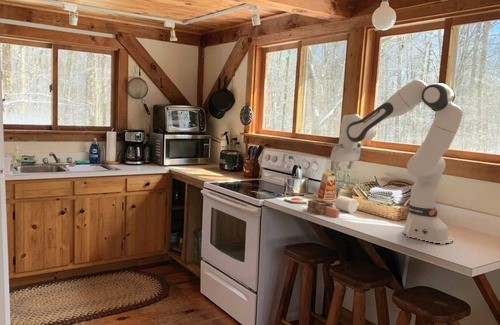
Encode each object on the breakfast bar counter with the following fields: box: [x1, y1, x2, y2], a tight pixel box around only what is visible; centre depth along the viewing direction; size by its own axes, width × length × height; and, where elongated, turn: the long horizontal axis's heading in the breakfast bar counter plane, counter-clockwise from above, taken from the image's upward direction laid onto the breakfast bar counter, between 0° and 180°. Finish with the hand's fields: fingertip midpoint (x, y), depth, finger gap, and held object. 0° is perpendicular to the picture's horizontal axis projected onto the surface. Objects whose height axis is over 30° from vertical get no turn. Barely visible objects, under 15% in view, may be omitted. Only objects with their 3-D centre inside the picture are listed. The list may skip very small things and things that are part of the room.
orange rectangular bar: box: [324, 206, 340, 219], centre depth 243 cm, size 15×2×4 cm, turn 41°
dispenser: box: [306, 198, 334, 216], centre depth 246 cm, size 10×9×6 cm
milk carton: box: [316, 167, 337, 202], centre depth 281 cm, size 9×9×20 cm
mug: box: [334, 195, 360, 214], centre depth 255 cm, size 12×10×8 cm
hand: (343, 169), depth 237 cm, fingers open, 8 cm apart
